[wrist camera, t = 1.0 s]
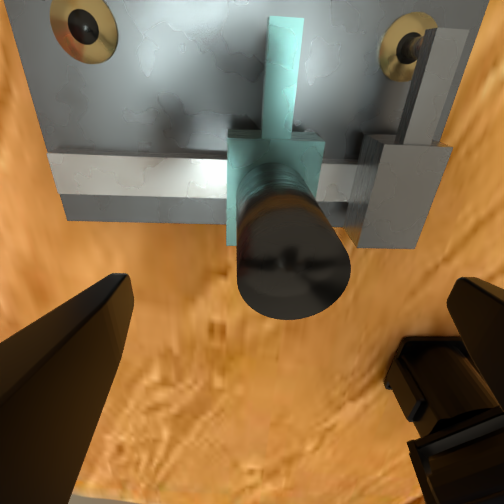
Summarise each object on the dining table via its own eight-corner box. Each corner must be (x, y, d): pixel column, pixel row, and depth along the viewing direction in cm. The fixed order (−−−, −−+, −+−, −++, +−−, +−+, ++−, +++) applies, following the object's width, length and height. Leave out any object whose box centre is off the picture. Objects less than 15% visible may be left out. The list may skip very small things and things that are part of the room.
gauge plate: (476, -26, 14) (579, -64, 10) (397, 218, 20) (439, 257, 16) (6, -66, 12) (-106, -129, 8) (78, 209, 19) (35, 251, 15)
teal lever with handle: (326, 27, 13) (451, -21, 5) (298, 223, 17) (345, 340, 10) (229, 20, 12) (222, -39, 5) (227, 222, 17) (222, 340, 10)
